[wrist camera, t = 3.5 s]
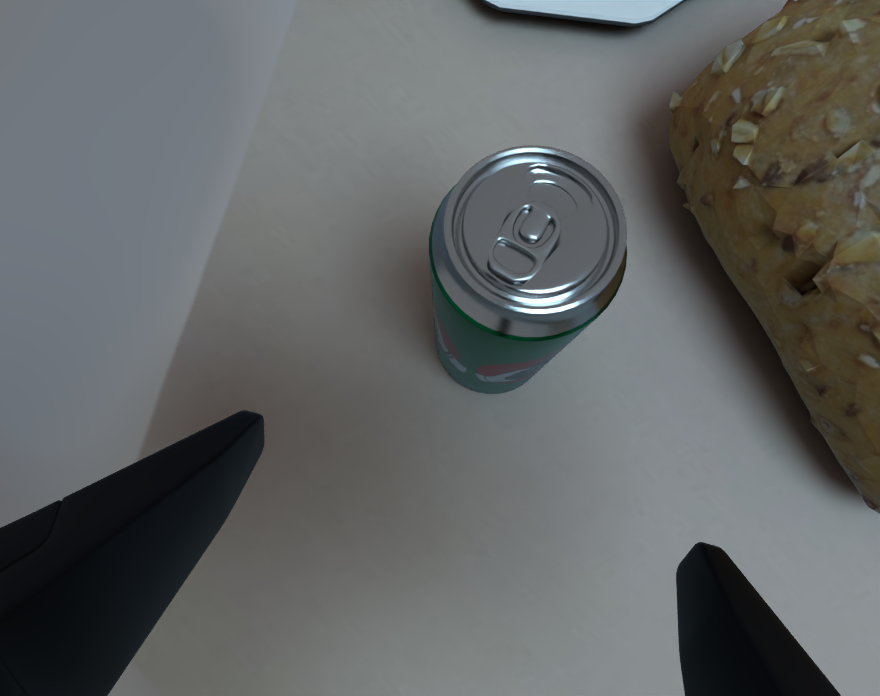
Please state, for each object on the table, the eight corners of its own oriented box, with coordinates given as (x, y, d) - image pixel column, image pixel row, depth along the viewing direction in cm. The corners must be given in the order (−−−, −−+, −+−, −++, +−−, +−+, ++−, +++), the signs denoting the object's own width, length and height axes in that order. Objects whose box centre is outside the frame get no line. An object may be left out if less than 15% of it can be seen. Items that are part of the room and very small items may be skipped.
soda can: (562, 326, 23) (682, 193, 11) (508, 416, 22) (579, 372, 10) (471, 273, 24) (497, 96, 12) (416, 359, 23) (385, 257, 11)
